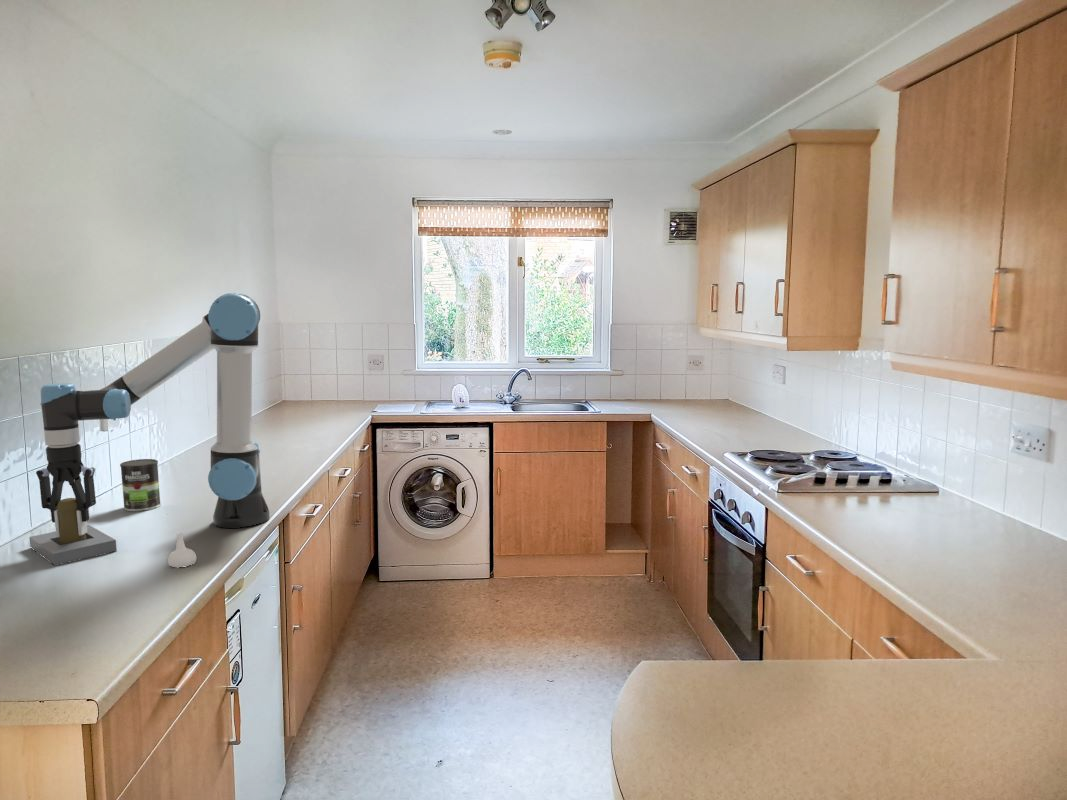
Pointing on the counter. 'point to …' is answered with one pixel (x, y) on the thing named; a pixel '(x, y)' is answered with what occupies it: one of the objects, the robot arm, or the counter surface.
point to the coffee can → (140, 484)
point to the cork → (69, 521)
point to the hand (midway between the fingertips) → (72, 533)
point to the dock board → (72, 546)
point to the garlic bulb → (181, 554)
